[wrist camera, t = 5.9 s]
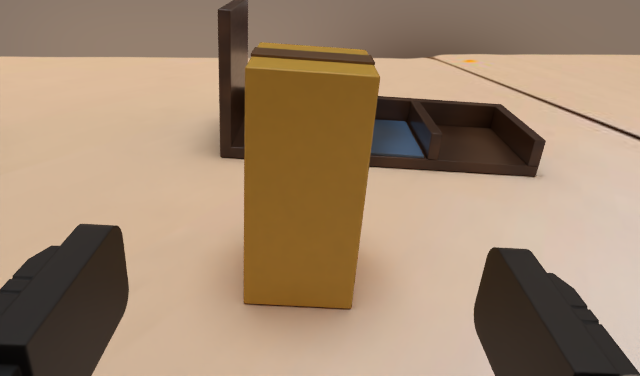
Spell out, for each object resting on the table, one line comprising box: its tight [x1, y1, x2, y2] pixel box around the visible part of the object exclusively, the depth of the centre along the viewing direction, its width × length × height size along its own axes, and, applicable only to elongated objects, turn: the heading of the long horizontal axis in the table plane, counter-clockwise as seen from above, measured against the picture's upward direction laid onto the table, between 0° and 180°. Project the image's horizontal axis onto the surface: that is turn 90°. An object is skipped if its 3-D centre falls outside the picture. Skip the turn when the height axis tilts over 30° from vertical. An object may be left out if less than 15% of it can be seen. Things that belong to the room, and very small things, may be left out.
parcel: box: [244, 42, 380, 308], centre depth 21 cm, size 5×5×10 cm
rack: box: [218, 0, 546, 176], centre depth 37 cm, size 23×9×10 cm, turn 91°
